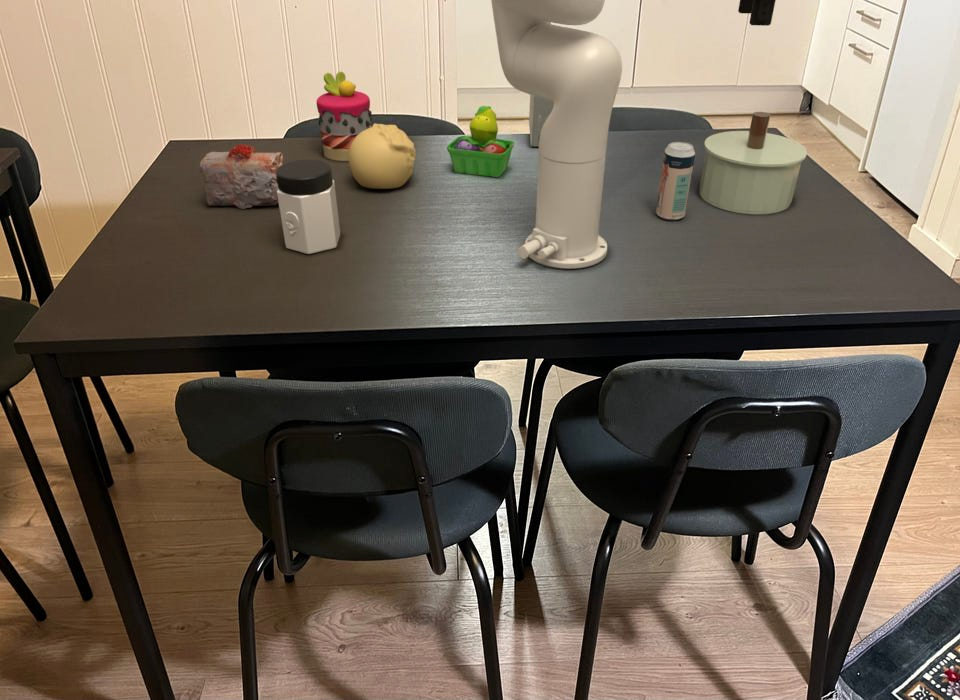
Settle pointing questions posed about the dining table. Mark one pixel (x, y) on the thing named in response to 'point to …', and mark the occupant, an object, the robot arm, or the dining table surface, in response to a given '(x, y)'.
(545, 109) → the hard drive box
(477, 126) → the fruit basket
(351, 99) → the cake
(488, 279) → the dining table surface
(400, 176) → the sculpture
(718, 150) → the tub lid
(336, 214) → the jar
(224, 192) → the food item
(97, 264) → the dining table surface
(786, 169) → the tub
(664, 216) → the beer can
